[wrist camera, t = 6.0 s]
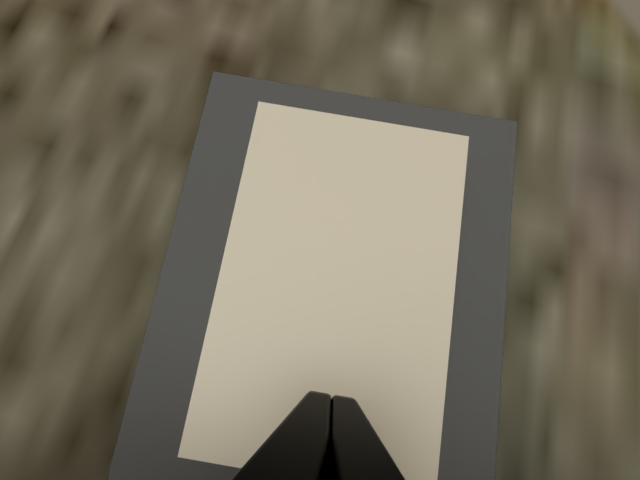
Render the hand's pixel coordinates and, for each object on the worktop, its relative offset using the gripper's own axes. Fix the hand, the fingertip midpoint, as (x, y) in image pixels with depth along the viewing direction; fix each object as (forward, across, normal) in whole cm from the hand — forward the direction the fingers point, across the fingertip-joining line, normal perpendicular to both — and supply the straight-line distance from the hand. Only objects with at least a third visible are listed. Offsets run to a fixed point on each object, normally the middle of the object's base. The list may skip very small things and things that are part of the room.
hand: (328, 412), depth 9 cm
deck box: (+4, 0, -6) cm, 7 cm away
